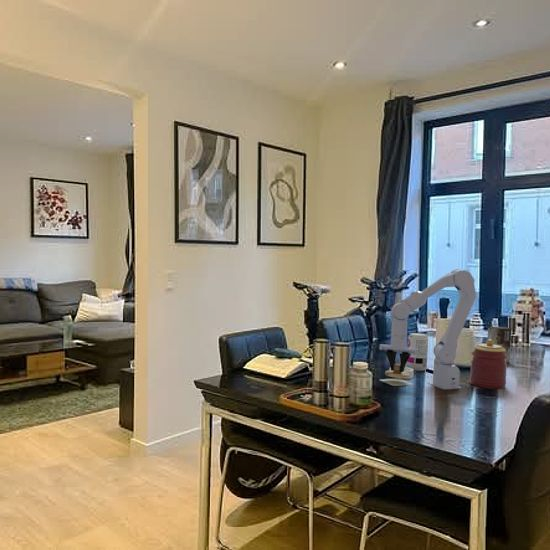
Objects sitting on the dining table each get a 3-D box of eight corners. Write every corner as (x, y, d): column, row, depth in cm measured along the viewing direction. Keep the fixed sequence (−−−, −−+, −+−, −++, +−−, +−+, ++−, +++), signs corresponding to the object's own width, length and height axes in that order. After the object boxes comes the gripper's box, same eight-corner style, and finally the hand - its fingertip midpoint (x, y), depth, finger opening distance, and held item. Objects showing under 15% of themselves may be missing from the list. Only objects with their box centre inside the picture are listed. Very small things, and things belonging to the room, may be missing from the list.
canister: (462, 383, 203) (465, 338, 202) (480, 379, 211) (482, 335, 210) (495, 391, 193) (498, 343, 192) (512, 386, 201) (515, 340, 200)
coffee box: (505, 360, 255) (507, 326, 255) (509, 362, 249) (511, 328, 248) (485, 358, 256) (487, 325, 256) (489, 361, 250) (491, 327, 249)
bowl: (417, 379, 207) (418, 370, 207) (398, 380, 203) (399, 371, 203) (403, 374, 215) (404, 365, 215) (385, 375, 212) (385, 366, 212)
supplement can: (404, 369, 224) (406, 334, 223) (409, 366, 231) (411, 332, 231) (424, 372, 220) (426, 336, 220) (428, 368, 227) (430, 334, 227)
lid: (414, 377, 196) (415, 366, 196) (394, 378, 193) (394, 367, 193) (399, 371, 205) (400, 361, 204) (380, 373, 201) (380, 362, 201)
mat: (414, 385, 196) (414, 384, 196) (393, 386, 193) (393, 385, 193) (399, 379, 205) (399, 378, 205) (378, 380, 201) (378, 379, 201)
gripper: (421, 336, 197) (419, 372, 198) (385, 331, 206) (383, 366, 206) (414, 338, 191) (413, 375, 192) (377, 333, 200) (376, 369, 200)
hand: (397, 371), depth 199 cm, fingers closed on lid, 3 cm apart
